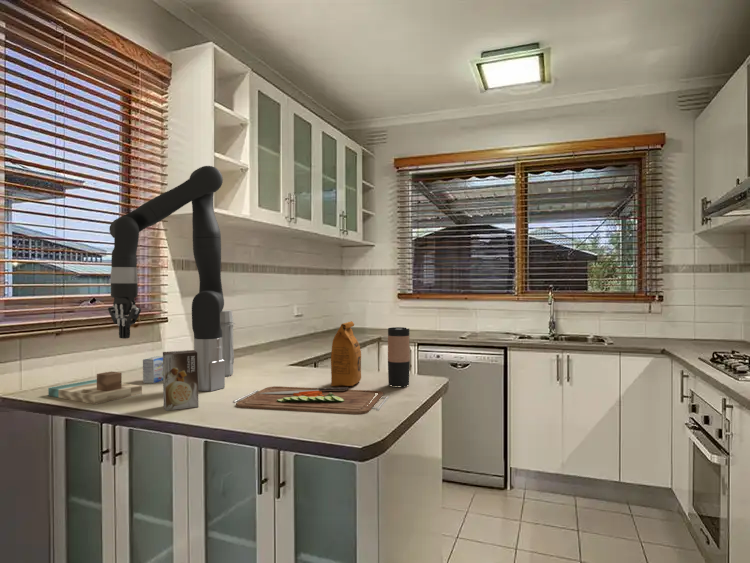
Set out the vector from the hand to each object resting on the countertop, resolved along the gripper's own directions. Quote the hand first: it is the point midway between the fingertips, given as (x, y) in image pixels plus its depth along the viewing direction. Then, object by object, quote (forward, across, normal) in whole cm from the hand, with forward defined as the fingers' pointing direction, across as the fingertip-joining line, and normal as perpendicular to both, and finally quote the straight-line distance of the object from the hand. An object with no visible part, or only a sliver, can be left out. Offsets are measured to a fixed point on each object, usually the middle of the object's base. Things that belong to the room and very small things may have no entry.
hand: (124, 338), depth 158 cm
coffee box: (+19, -22, -2) cm, 30 cm away
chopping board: (+20, -52, -27) cm, 61 cm away
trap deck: (+19, +14, 0) cm, 24 cm away
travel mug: (+19, -66, -59) cm, 90 cm away
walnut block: (+17, +8, 0) cm, 18 cm away
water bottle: (+19, +2, -44) cm, 48 cm away
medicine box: (+19, +16, -24) cm, 35 cm away
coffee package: (+19, -48, -52) cm, 74 cm away
